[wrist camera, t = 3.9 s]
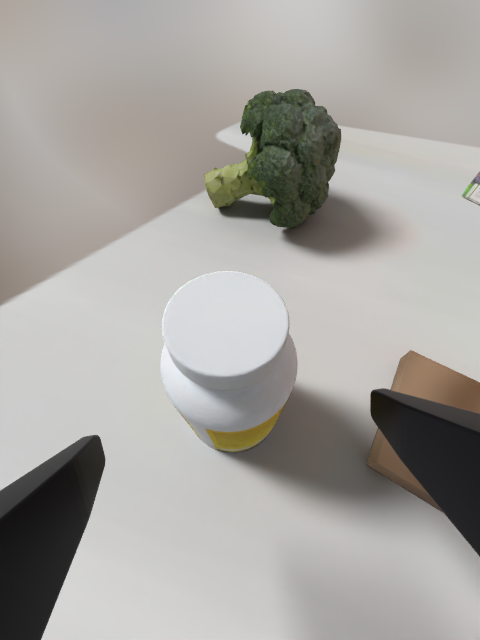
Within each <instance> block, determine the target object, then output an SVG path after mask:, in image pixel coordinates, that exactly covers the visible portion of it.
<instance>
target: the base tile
mask: <svg viewBox="0 0 480 640" xmlns="http://www.w3.org/2000/svg"><path fill="white" fill-rule="evenodd" d="M391 390H392V391H396V392H400V393H403V394H407V395H411V396H415V397H419V398H422V399H426V400H430V401H434V402H438V403H441V404H445V405H449V406H453V407H457V408H460V409H464V410H468V411H472V412H476V413H479V414H480V383H479V382H477V381H475V380H473V379H471V378H469V377H467V376H465V375H462V374H460V373H458V372H456V371H454V370H452V369H450V368H448V367H445V366H443V365H441V364H439V363H437V362H435V361H433V360H431V359H428V358H426V357H424V356H422V355H420V354H418V353H416V352H414V351H409V352H408V353H407V354H406V355H404V356H403V357H402V358H401V359H400V362H399V365H398V368H397V372H396V375H395V378H394V381H393V384H392V387H391ZM366 465H368V466H369V467H371V468H373V469H374V470H376V471H377V472H379V473H381V474H382V475H384V476H385V477H387V478H389V479H390V480H392V481H393V482H395V483H397V484H398V485H400V486H401V487H403V488H405V489H406V490H408V491H409V492H411V493H413V494H414V495H416V496H418V497H419V498H421V499H422V500H424V501H426V502H427V503H429V504H430V505H432V506H434V507H435V508H437V509H438V510H440V511H442V510H441V509H440V507H439V506H438V505H437V504H436V502H435V501H434V500H433V499H432V498H431V496H430V495H429V494H428V493H427V492H426V490H425V489H424V488H423V487H422V485H421V484H420V483H419V482H418V481H417V479H416V478H415V477H414V476H413V474H412V473H411V472H410V471H409V470H408V468H407V467H406V466H405V465H404V463H403V462H402V461H401V460H400V458H399V457H398V455H397V454H396V453H395V451H394V450H393V448H392V447H391V445H390V444H389V442H388V441H387V439H386V438H385V437H384V435H383V434H382V432H381V431H380V429H379V428H378V430H377V433H376V436H375V439H374V442H373V445H372V449H371V452H370V455H369V458H368V461H367V464H366ZM442 512H443V511H442ZM443 513H444V512H443Z"/></svg>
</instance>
